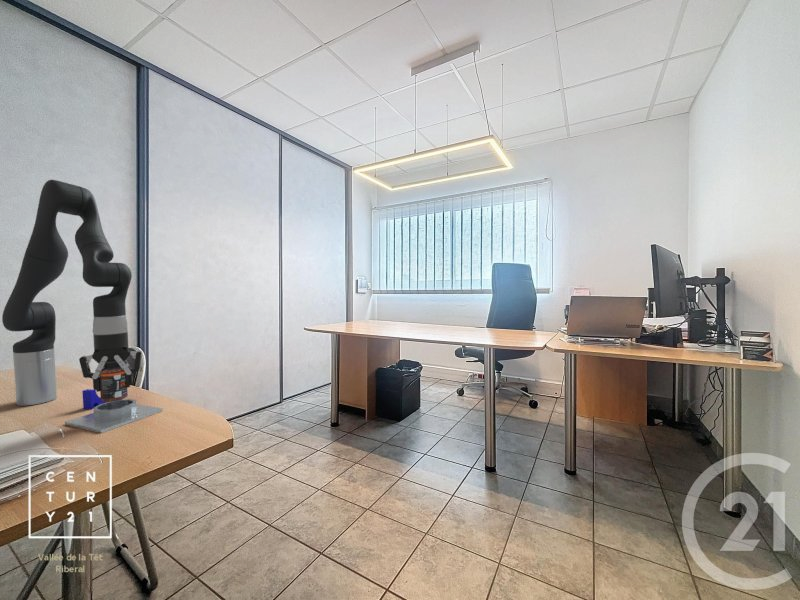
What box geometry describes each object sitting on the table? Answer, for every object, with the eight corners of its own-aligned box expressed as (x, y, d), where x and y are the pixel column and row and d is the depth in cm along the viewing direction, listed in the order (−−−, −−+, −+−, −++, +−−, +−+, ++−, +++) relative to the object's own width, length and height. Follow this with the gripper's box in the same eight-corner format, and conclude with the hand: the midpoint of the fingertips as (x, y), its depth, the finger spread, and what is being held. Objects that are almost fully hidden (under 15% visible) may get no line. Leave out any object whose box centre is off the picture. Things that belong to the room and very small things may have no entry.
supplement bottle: (126, 400, 97) (124, 361, 96) (98, 404, 93) (96, 364, 93) (128, 394, 102) (127, 357, 101) (102, 398, 98) (100, 360, 98)
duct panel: (65, 424, 93) (64, 411, 93) (128, 404, 108) (127, 393, 108) (101, 433, 88) (100, 418, 88) (162, 411, 103) (162, 398, 103)
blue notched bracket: (116, 396, 117) (115, 379, 117) (127, 397, 117) (126, 380, 116) (79, 409, 105) (78, 390, 105) (91, 410, 105) (90, 391, 104)
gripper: (143, 328, 104) (146, 381, 104) (80, 332, 96) (83, 389, 97) (140, 331, 97) (143, 388, 98) (73, 335, 90) (76, 397, 90)
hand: (113, 388), depth 97 cm, fingers closed on supplement bottle, 6 cm apart
